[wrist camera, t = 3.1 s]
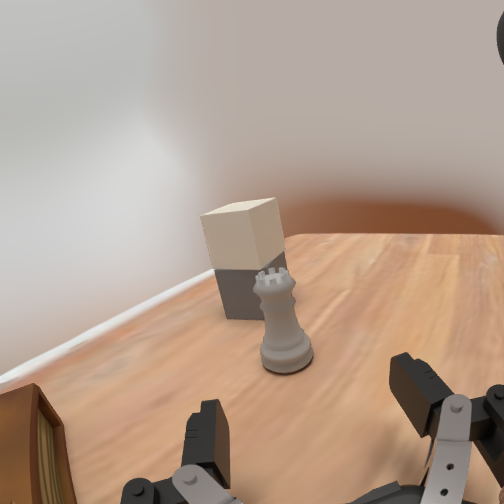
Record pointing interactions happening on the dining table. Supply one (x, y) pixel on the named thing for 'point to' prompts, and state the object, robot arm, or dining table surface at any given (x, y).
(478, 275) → the dining table surface
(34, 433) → the diary
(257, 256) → the tower top
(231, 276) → the tower base
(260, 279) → the rook chess piece
